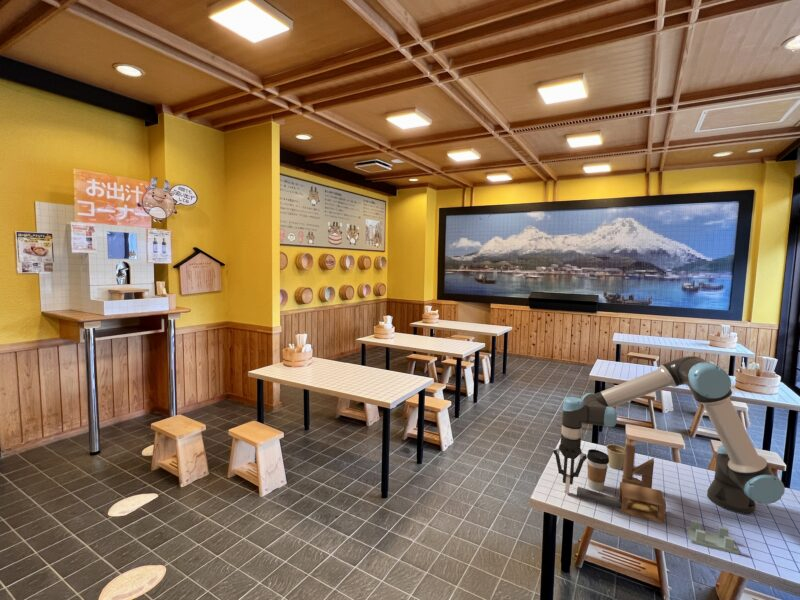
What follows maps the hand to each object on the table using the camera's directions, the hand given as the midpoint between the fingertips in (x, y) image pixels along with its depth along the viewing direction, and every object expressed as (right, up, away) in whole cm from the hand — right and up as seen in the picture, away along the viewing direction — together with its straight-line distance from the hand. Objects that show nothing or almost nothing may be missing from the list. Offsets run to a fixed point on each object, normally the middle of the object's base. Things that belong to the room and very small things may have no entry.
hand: (567, 490), depth 164 cm
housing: (+24, -3, -10) cm, 26 cm away
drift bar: (+11, -2, -5) cm, 12 cm away
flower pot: (+33, 0, +24) cm, 41 cm away
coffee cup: (+15, -1, +6) cm, 16 cm away
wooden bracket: (+32, -2, +6) cm, 33 cm away
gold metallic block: (+24, -1, -11) cm, 26 cm away
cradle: (+39, -5, -26) cm, 47 cm away
